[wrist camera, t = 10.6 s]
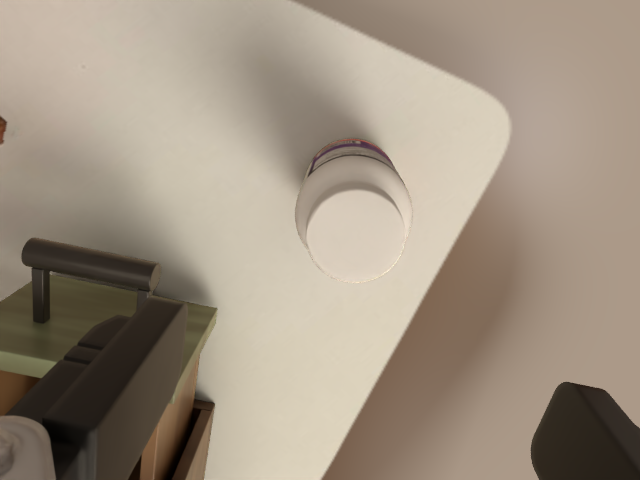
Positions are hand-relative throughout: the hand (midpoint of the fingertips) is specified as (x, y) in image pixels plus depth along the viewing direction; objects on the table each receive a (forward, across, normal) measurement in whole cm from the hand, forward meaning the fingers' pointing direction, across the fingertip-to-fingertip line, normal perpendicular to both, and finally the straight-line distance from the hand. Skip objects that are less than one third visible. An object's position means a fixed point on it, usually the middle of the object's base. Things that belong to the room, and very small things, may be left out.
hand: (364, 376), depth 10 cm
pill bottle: (+19, 0, 0) cm, 19 cm away
